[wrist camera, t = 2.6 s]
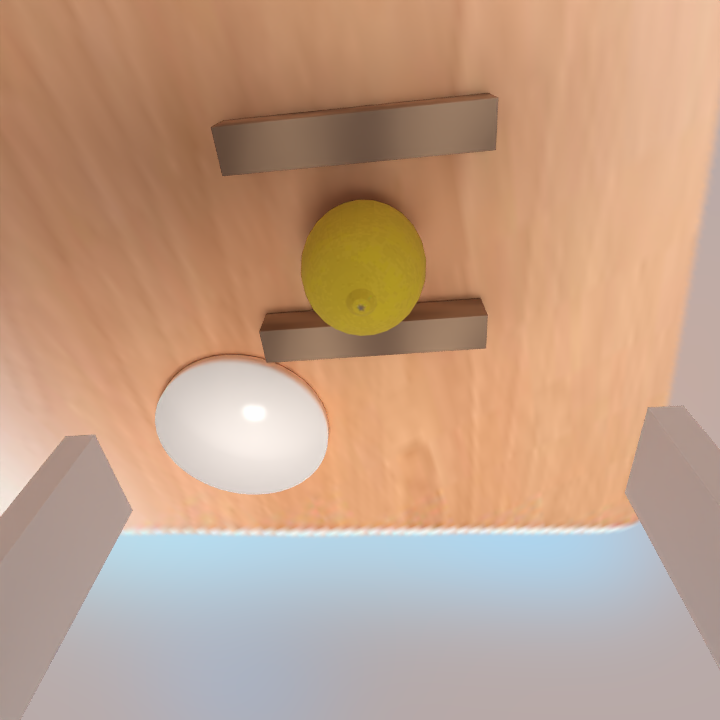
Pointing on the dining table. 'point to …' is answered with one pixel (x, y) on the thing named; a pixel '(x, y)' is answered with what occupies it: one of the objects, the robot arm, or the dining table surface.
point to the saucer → (242, 424)
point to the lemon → (363, 267)
